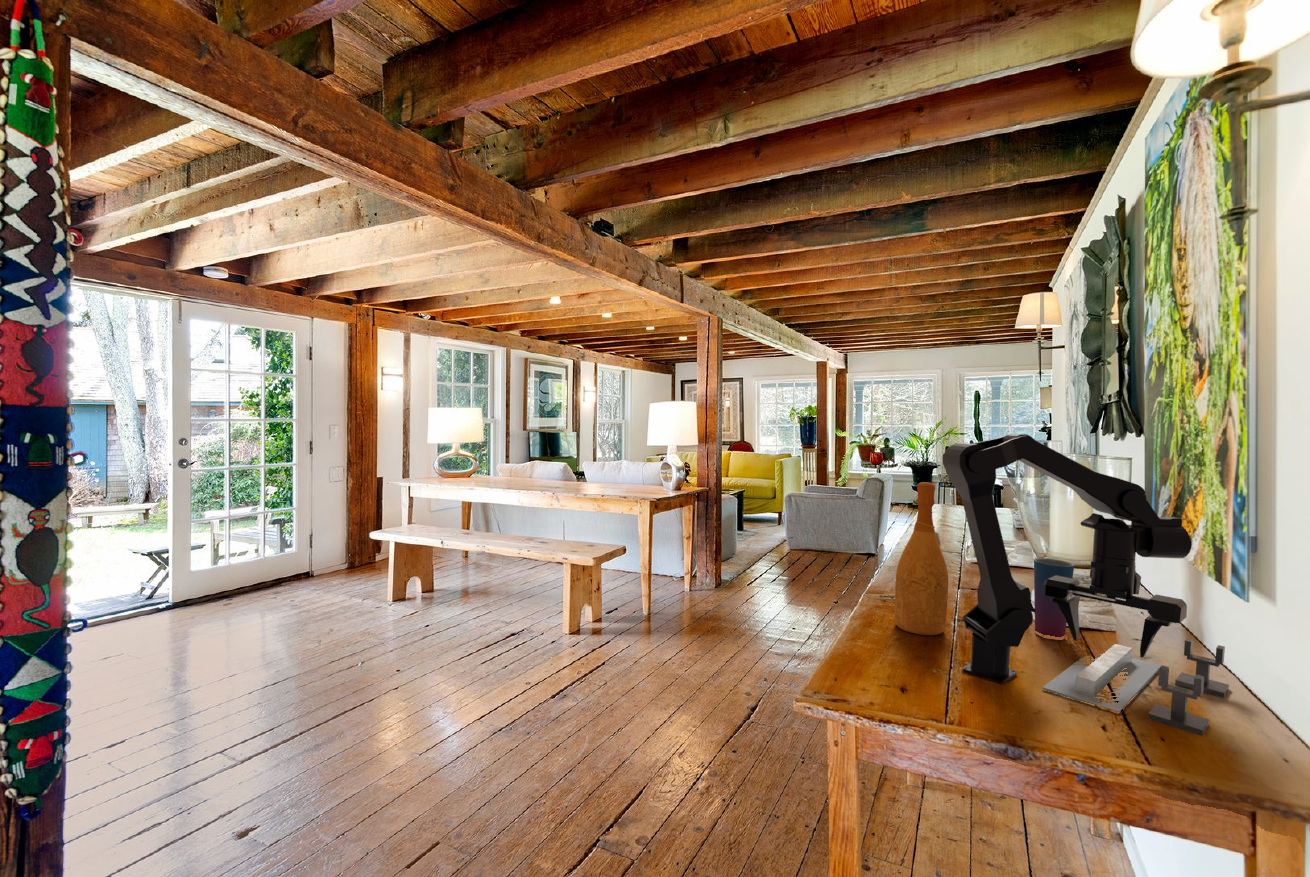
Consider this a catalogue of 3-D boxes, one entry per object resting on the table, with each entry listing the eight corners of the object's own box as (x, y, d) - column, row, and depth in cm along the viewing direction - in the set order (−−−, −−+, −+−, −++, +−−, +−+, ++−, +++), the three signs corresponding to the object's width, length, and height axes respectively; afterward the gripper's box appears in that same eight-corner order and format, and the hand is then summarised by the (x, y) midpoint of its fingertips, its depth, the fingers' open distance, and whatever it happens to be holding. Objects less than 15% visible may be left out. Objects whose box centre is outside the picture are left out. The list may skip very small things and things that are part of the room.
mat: (1119, 714, 91) (1119, 711, 91) (1042, 690, 98) (1042, 687, 98) (1161, 668, 109) (1161, 665, 109) (1094, 650, 117) (1094, 648, 117)
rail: (1093, 697, 95) (1094, 681, 95) (1074, 691, 97) (1075, 675, 97) (1131, 661, 110) (1132, 648, 110) (1114, 657, 112) (1115, 643, 112)
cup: (1076, 643, 120) (1080, 567, 119) (1037, 640, 121) (1042, 564, 121) (1060, 632, 127) (1065, 559, 126) (1024, 628, 128) (1028, 557, 127)
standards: (1202, 735, 85) (1205, 684, 85) (1147, 718, 90) (1151, 669, 90) (1228, 689, 101) (1231, 645, 101) (1181, 676, 106) (1183, 635, 105)
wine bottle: (952, 639, 120) (960, 486, 119) (899, 635, 122) (906, 483, 121) (937, 623, 130) (944, 481, 129) (888, 619, 132) (895, 478, 130)
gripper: (1196, 560, 101) (1190, 654, 102) (1064, 540, 115) (1059, 623, 116) (1182, 570, 94) (1176, 671, 94) (1044, 547, 108) (1039, 635, 109)
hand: (1108, 648), depth 104 cm, fingers open, 9 cm apart
